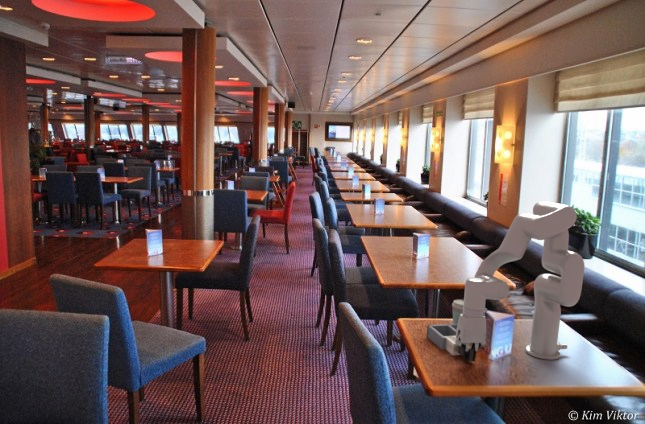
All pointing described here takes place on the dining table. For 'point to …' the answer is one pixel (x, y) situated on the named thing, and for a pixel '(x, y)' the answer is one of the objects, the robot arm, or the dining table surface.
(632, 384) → the dining table surface
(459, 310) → the coffee cup
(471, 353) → the cream block
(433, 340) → the lane rack
